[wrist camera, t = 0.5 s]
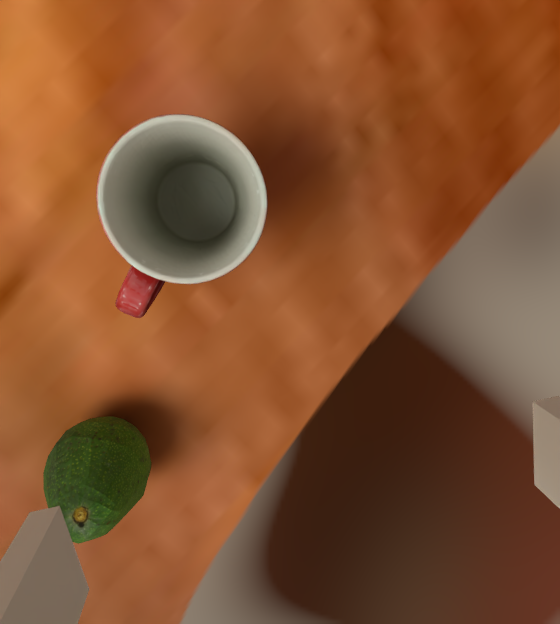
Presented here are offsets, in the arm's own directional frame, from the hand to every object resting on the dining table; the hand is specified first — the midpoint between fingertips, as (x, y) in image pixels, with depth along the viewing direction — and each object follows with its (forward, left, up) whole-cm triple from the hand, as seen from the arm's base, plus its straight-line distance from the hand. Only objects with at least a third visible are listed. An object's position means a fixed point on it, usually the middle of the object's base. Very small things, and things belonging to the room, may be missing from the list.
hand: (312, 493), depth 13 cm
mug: (-7, -3, -29) cm, 30 cm away
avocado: (+8, -17, -29) cm, 34 cm away
